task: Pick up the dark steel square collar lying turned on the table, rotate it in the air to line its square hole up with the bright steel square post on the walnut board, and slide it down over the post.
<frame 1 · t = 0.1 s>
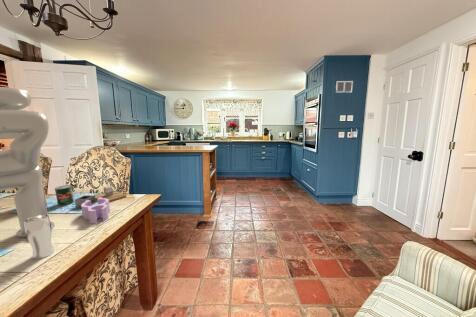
hand: (10, 150, 102), 37 cm above the table, tool pointing down, fingers open, 9 cm apart
beer glass: (43, 254, 77), on the table
cracker box: (37, 206, 124), on the table
clip: (97, 216, 110), on the table
canned tomato: (66, 203, 127), on the table
dock: (109, 197, 136), on the table
collar: (86, 205, 124), on the table
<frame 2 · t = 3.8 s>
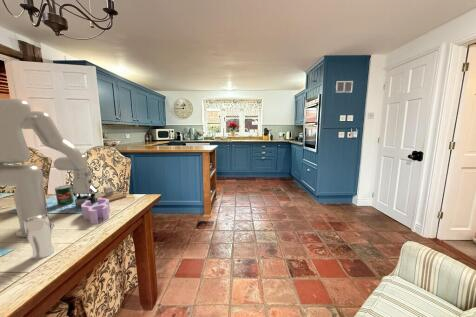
hand: (85, 203, 123), 1 cm above the table, tool pointing down, fingers closed on collar, 7 cm apart
collar: (86, 205, 124), on the table, touching gripper
everything else where it was.
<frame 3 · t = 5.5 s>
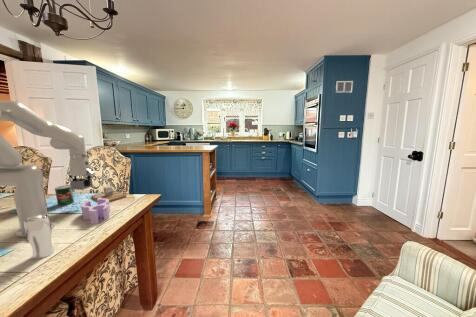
hand: (81, 185, 121), 13 cm above the table, tool pointing down, fingers closed on collar, 7 cm apart
collar: (82, 187, 121), point 11 cm above the table, touching gripper
everything else where it was.
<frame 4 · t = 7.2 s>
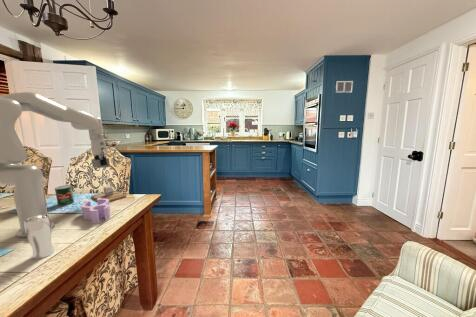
hand: (101, 164, 130), 23 cm above the table, tool pointing down, fingers closed on collar, 7 cm apart
collar: (101, 166, 130), point 22 cm above the table, touching gripper
everything else where it was.
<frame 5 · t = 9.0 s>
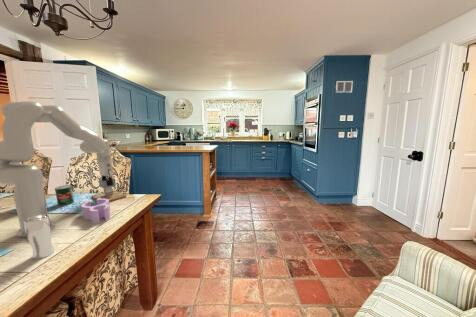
hand: (107, 184, 134), 9 cm above the table, tool pointing down, fingers closed on collar, 7 cm apart
collar: (107, 186, 135), point 8 cm above the table, touching gripper
everything else where it was.
when the fingers open (4 cm above the table, at t = 10.5 s): collar drops 1 cm, resting on dock.
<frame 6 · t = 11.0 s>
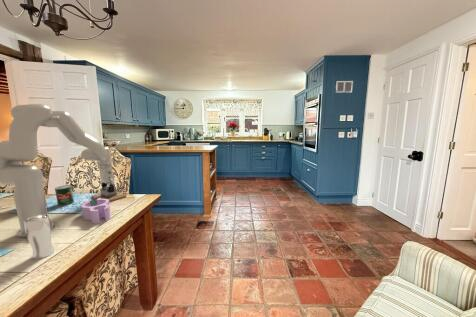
hand: (108, 190, 135), 5 cm above the table, tool pointing down, fingers open, 9 cm apart
collar: (108, 195, 136), point 1 cm above the table, touching dock
everything else where it was.
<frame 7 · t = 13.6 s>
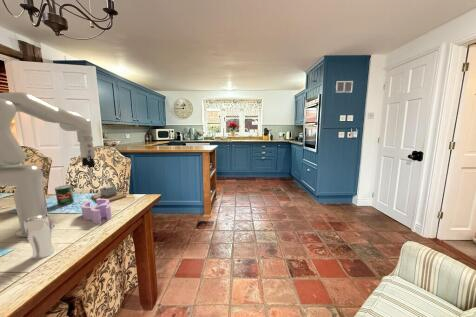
hand: (88, 166, 126), 23 cm above the table, tool pointing down, fingers open, 9 cm apart
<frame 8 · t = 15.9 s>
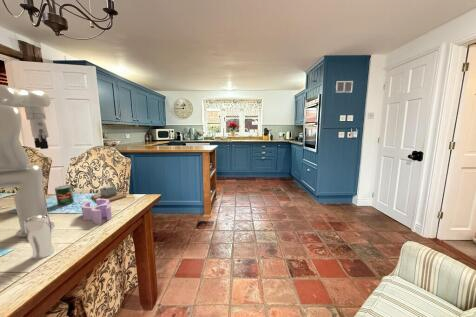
hand: (42, 148, 112), 36 cm above the table, tool pointing down, fingers open, 9 cm apart
at the end: collar 0.1 cm off-centre on the dock, point 1.5 cm above the dock's base; collar tilted 0°; the gripper is holding nothing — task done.
